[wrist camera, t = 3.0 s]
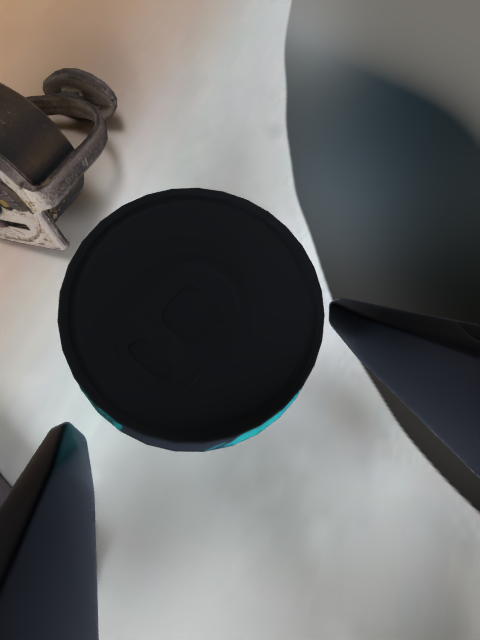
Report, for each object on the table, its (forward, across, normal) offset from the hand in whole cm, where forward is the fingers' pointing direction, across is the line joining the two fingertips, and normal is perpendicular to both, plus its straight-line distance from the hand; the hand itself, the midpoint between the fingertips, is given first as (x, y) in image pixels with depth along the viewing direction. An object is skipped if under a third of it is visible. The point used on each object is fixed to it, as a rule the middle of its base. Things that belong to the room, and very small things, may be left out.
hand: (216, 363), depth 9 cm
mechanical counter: (+18, +4, -5) cm, 19 cm away
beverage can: (+7, 0, +6) cm, 9 cm away
